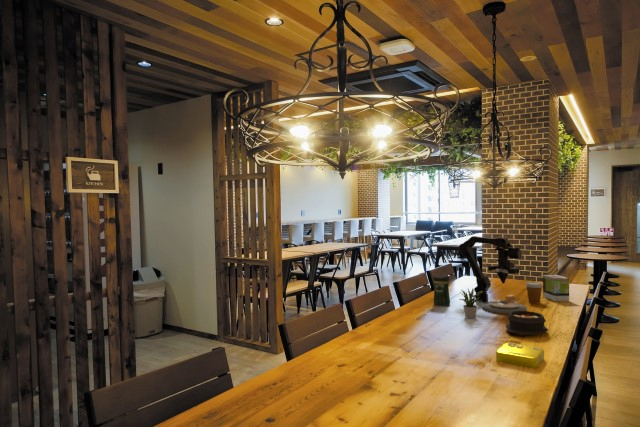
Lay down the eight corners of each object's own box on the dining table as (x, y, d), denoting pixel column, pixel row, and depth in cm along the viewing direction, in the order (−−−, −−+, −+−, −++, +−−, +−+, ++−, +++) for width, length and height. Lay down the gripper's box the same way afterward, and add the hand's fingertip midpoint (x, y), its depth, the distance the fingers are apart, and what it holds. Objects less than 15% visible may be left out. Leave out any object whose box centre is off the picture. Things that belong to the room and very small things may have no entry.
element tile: (494, 362, 172) (494, 350, 172) (505, 352, 184) (505, 340, 184) (536, 370, 163) (536, 357, 163) (545, 359, 174) (544, 347, 174)
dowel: (505, 303, 264) (504, 295, 264) (505, 302, 266) (505, 295, 266) (508, 303, 263) (508, 296, 263) (509, 302, 265) (509, 295, 264)
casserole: (541, 341, 196) (541, 322, 196) (498, 334, 208) (498, 316, 208) (553, 328, 215) (553, 311, 215) (513, 323, 227) (513, 306, 227)
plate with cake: (511, 310, 245) (511, 301, 245) (484, 305, 257) (484, 297, 256) (525, 304, 257) (525, 296, 257) (499, 300, 269) (499, 293, 269)
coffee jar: (451, 304, 272) (451, 274, 272) (447, 306, 266) (446, 276, 266) (436, 302, 278) (436, 273, 278) (431, 305, 272) (431, 275, 271)
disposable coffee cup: (539, 300, 278) (538, 281, 278) (545, 304, 268) (545, 284, 268) (523, 300, 279) (523, 281, 279) (529, 304, 269) (528, 284, 269)
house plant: (487, 321, 230) (487, 290, 230) (460, 320, 233) (459, 290, 233) (483, 315, 244) (482, 285, 244) (457, 314, 247) (456, 285, 247)
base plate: (476, 311, 254) (476, 307, 254) (489, 303, 273) (489, 300, 273) (520, 316, 239) (520, 313, 239) (531, 308, 258) (531, 304, 258)
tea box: (570, 301, 275) (569, 277, 275) (553, 301, 275) (553, 278, 275) (557, 296, 290) (557, 274, 290) (542, 296, 290) (541, 274, 290)
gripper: (525, 258, 265) (525, 284, 265) (498, 255, 281) (499, 280, 281) (512, 259, 260) (513, 286, 260) (487, 257, 276) (487, 281, 276)
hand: (503, 283), depth 269 cm, fingers closed
